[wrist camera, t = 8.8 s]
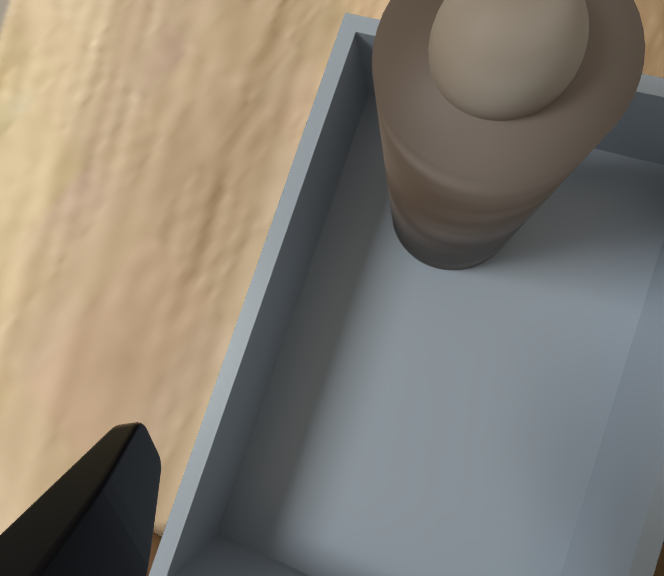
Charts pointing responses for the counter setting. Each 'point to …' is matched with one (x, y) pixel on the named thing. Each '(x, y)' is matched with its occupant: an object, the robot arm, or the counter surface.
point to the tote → (438, 375)
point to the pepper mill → (494, 111)
